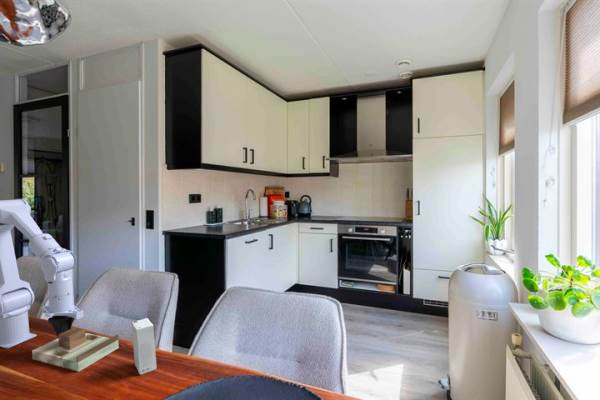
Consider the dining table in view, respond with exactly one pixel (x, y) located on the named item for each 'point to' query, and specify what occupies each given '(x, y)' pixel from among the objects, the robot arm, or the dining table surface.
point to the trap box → (76, 352)
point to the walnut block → (72, 338)
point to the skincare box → (144, 345)
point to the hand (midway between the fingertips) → (63, 339)
